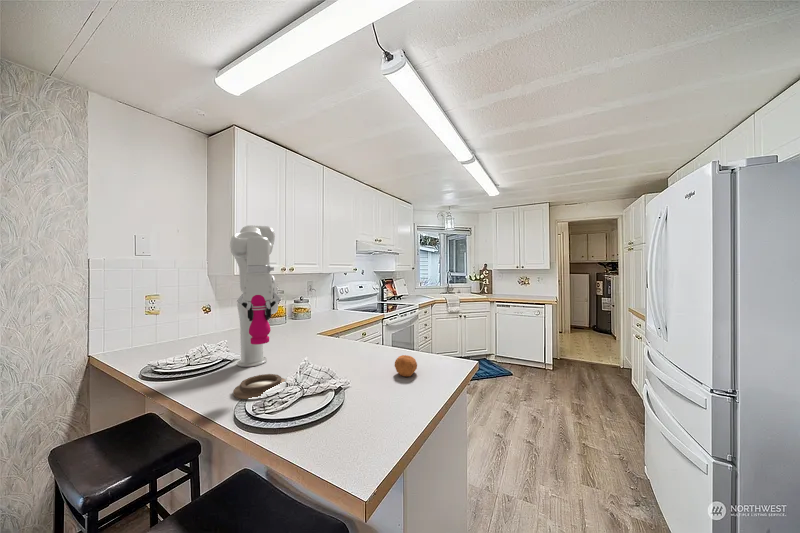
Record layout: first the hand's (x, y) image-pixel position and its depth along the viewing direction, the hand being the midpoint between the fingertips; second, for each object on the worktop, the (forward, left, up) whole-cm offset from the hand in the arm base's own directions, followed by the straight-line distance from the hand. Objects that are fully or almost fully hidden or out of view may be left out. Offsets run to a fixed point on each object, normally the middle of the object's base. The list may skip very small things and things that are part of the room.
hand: (259, 319), depth 110 cm
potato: (0, +55, -26) cm, 61 cm away
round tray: (0, 0, -26) cm, 26 cm away
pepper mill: (0, 0, -9) cm, 9 cm away
